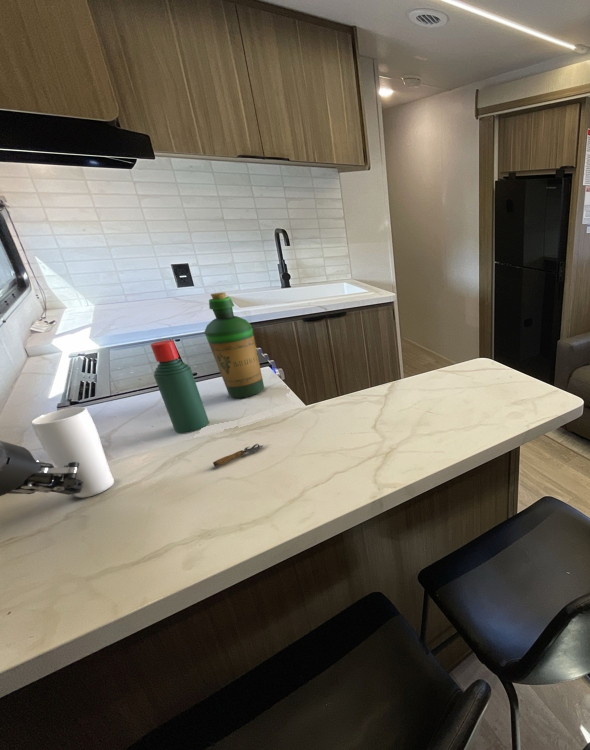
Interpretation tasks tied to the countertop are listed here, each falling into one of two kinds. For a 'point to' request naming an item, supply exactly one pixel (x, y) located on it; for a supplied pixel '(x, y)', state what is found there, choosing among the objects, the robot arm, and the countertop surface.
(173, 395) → the bottle
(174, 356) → the cap
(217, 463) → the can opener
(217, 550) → the countertop surface
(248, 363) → the bottle
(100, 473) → the white cup
